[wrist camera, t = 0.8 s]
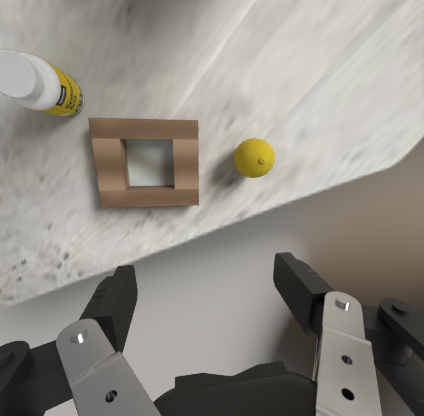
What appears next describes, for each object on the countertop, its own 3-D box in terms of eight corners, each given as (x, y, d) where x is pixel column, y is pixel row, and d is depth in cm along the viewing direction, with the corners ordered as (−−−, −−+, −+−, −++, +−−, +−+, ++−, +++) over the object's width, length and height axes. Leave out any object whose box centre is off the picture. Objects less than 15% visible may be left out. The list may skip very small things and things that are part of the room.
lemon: (230, 175, 36) (243, 184, 28) (227, 140, 34) (241, 140, 26) (262, 171, 36) (283, 179, 29) (261, 137, 35) (284, 135, 27)
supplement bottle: (88, 118, 31) (47, 107, 21) (46, 116, 30) (-15, 104, 20) (82, 75, 29) (36, 43, 20) (38, 71, 28) (-32, 37, 19)
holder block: (98, 120, 31) (88, 117, 27) (196, 122, 33) (198, 120, 29) (109, 201, 34) (101, 207, 31) (197, 199, 36) (198, 205, 33)
